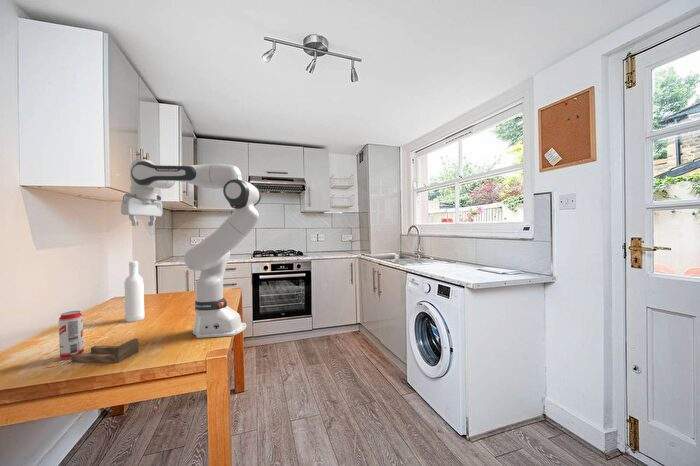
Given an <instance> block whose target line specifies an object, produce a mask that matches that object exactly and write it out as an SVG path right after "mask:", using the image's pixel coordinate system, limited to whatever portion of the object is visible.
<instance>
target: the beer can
mask: <svg viewBox="0 0 700 466" xmlns="http://www.w3.org/2000/svg"><path fill="white" fill-rule="evenodd" d="M83 317H84V316H83V314H82V313H81V310H72V311H70V310H69V311H66V312H63V313H61V314H60V317H59V318H58V336H59V337H58V340H59V341H58V342H59V358H60V359H63V360H69V359H71V356H73V355H75V354H84V351H85V346H84V344H85V343H84V319H83Z"/></svg>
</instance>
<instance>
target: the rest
mask: <svg viewBox="0 0 700 466" xmlns="http://www.w3.org/2000/svg"><path fill="white" fill-rule="evenodd" d="M139 342H140V341H139V338H133V339H131V340H129V341H126V342H124V343H121V344H120V345H93V346H91V347H90V353H91V354H90V353H87V354H85V353H82V354H75V355H73V356H71V362H73V363H76V362H77V363H78V362H79V363H81V362H82V363H120V362H123V361H124V360H126V359H129V357H132V356H133V355H135V354H137V353H138V352H139V350H140V348H139V345H140V344H139Z"/></svg>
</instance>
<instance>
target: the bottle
mask: <svg viewBox="0 0 700 466" xmlns="http://www.w3.org/2000/svg"><path fill="white" fill-rule="evenodd" d="M128 269H129V275H128V276H127V277H126V278H125V281H124V282H123V283H124V312H125V313H124V314H125V315H124V319H125V320H124V321H125V322H127V323H133V322H139V321H143V320H144V319H145V313H146V312H145V291H144V289H145V288H144V286H145V285H144V279H143V277H142V276H141V275H140V274H139V261H137V260H132V261H129V263H128Z"/></svg>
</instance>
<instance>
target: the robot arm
mask: <svg viewBox="0 0 700 466" xmlns="http://www.w3.org/2000/svg"><path fill="white" fill-rule="evenodd" d="M129 179H130V183H131V184H130V188H129V189H130V191H129V192H130V193H125V194H124V195H122V200H121V204H120V213H121V215H123V216H128V218H129V220H130V221H131V226H133V227H135V226H136V227H137V226H139V221H137V220H136V218H137V217H138V216H139V217H149V222H148V224H147V225H148V226H149V227H154V226H155V221H156V219H157V217H162V216H163V203H162V201H163V197H162V196H161V195H159V194H157V193H156V192H155V189H156V188H158V189H163V190H164V189H170V188H172V187H173V185H175V182H183V183H187V184H191V185H194V186H197V187H201V188H204V189H205V188H206V189H222V191H223V196H224V197H225V199H226V201H227V202H228V204H229V206H230V207H231V208H233V209H234V210H233V212H232V213H231V214H230V215H229V216H228V217H227V219H226V220H224V222H222V224H221V225H219V227H218V228H217V229H216V230H215V231H214V232H212V233H211V234H210V235H208V236H207V237H206V238H204V239H203V240H202V241H201V242H199V243H197V244H196V245H195V246H193V247H191V248H190V249H188V250H187V251H186V252H185V254H184V255H183V256H184V257H183V261H184V264H185V266H186V268H188V269H189V270H191V271H195V272H198V271H199V272H200V274H199V277H198V279H197V281H196V282H195V300H194V310H195V319H194V324H193V330H192V334H193V335H194V336H195V337H196V338H197V339H201V338H216V337H217V338H218V337H233V336H236V335H238V334H240V333H242V332H243V331H244V330H245V329H246V328H247V324H246V322H242V318H241V315H240V313H238V312H237V311H236V310H234V309H233V308H231V307H229V306H228V302H229V298H228V299H225V297H224V278H225V273H226V268H227V264H228V262H229V260H230V259H231V250H233V249H234V248H236V247H237V246H238V245H239V244H240V243H241V242H242V241H243V240H244V239H245V238H246V237H247V236H248V234H249V233H250V232H251V231H252V230H253V229H254V227H255V226H256V224H258V221H259V220H260V214H259V211H258V209H256V207H255V206H257V205H258V204H259V203H260V202H261V199H262V193H261V191H260V188H258V187H257V186H256V185H254V184H252V183H250V182H248V181H246V180H243V177H242V172H241V170H240V168H238V166H236V165H233V164H227V163H204V164H203V163H202V164H192V165H190V164H189V165H159V164H158V165H157V164H155V163H154V162H153V161H151V160H150V159H145V158H144V159H134V160H132V161H131V163H130V168H129Z"/></svg>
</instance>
